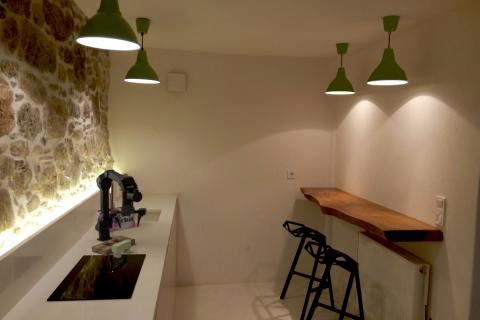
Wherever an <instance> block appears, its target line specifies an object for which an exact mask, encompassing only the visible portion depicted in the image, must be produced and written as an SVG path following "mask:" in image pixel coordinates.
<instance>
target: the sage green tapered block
mask: <svg viewBox="0 0 480 320" xmlns="http://www.w3.org/2000/svg"><path fill="white" fill-rule="evenodd" d="M131 248H132V246H131V241H130V240H124V241H122V242H119V243H117V244H114V245H112V252H114V253H113V257H114V258H116V259H117V258H118V259H120V258H121V257H122V254H125V253H126V255H129V254H130V253H131ZM128 253H129V254H128Z"/></svg>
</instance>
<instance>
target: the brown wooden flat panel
mask: <svg viewBox="0 0 480 320" xmlns="http://www.w3.org/2000/svg"><path fill="white" fill-rule="evenodd" d="M124 240H130V241H131V247H132V246H134V245H136V239H135V238H132V237H128V236H123V235H120V236H117V237H114V238H113V237H112V238H111V239H109V240H106V241H102V242H100V243H97V244H95V245H92V246H91V253H95V254H98V255H102V256H106V257H107V256H110V255H112V254H113V255H114V252H112V245H114V244H117V243H119V242H122V241H124Z"/></svg>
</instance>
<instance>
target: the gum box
mask: <svg viewBox="0 0 480 320" xmlns="http://www.w3.org/2000/svg"><path fill="white" fill-rule="evenodd" d="M121 208H122V206H118V207H117V206H116V207H111V208H110V207H109V214H110V212H111V210H112V209H119V211H121ZM100 213H101V210H100V209H97V210H96V216H97V217H96V218H97V222H98V217H99V215H100ZM135 215H136V214H131V216H124V217H122V216H121V214H120V219H121V228H120V227H119V225H118V223H117V221H116V219H114V218H113V226H112V228H111V229H109V230H110V232H114V231H118V230H126V229H131V228H135V227H136V218H135ZM97 222H96V223H97Z"/></svg>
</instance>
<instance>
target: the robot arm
mask: <svg viewBox="0 0 480 320" xmlns="http://www.w3.org/2000/svg"><path fill="white" fill-rule="evenodd" d="M113 181H114V182H116V183H117V184H118V187H120V189H119V192H121V207H122V208H121V211H119V209H112V210H111V212H110V214H109V209H110V189H111V187H112V185H113ZM95 183H96V187H97V188H98V189H99V195H100V197H99V199H100V200H99V202H100V203H99V204H100V209H99V210H101V213H100V215H99V217H98V222H96V224H95V225H94V229H95V231H96V232H98V238H96V240H97V241H100V242H105V241H108V240H111V239H113V237H112V236H111V231H110V230H109V229H111V228H112V226H113V218H114V219H116V221H117V223H118V225H119V227H120V228H121V219H120V214H121V216H122V217H124V216H131V214H135V215H136V214H137V215H136V216H137V223H136V224H137V225H136V227H137V228H139V227H140V224H141V219H142V218H143V217H144V216H146V214H147V207H139V208H138V209H135V206H134V203H140V202H141V201H142V199H143V193H142V192H141V191H140V190H139V187H138V184H137V182H136V179H135V178H134V177H133V176H132V175H123V174H121V173H119V172H117V171H116V170H115V169H113V168H111V169H106V170H104V172H102V173H100V174H99V175H98V176H97V177H96V178H95Z"/></svg>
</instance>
